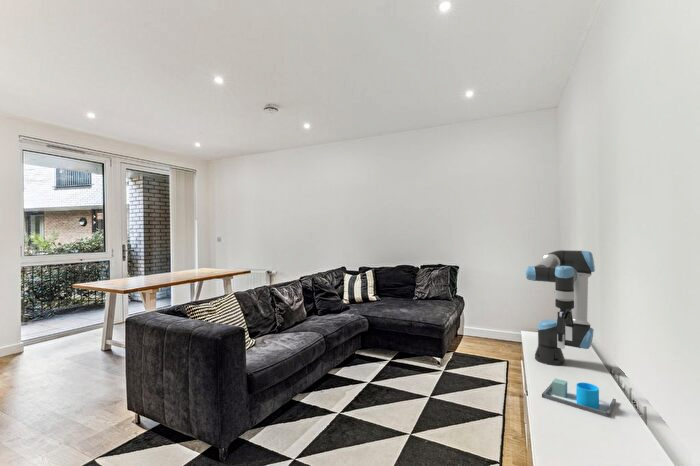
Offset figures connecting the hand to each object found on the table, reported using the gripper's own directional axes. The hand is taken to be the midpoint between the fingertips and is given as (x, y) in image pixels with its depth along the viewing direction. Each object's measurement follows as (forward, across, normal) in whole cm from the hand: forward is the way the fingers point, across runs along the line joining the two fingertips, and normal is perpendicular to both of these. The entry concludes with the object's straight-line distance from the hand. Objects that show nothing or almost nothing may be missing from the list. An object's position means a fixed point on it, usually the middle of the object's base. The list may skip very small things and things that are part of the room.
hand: (565, 344), depth 165 cm
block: (+23, +5, -1) cm, 23 cm away
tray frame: (+22, +5, +6) cm, 24 cm away
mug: (+23, +6, +10) cm, 25 cm away
